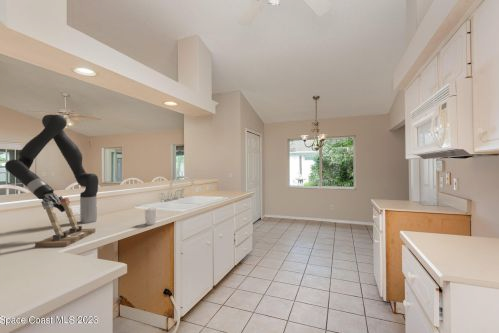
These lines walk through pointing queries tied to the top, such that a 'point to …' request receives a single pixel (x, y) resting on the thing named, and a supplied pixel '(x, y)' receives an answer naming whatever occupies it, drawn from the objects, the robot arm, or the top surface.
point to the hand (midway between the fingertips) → (64, 210)
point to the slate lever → (53, 217)
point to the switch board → (65, 238)
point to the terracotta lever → (69, 212)
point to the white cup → (151, 216)
